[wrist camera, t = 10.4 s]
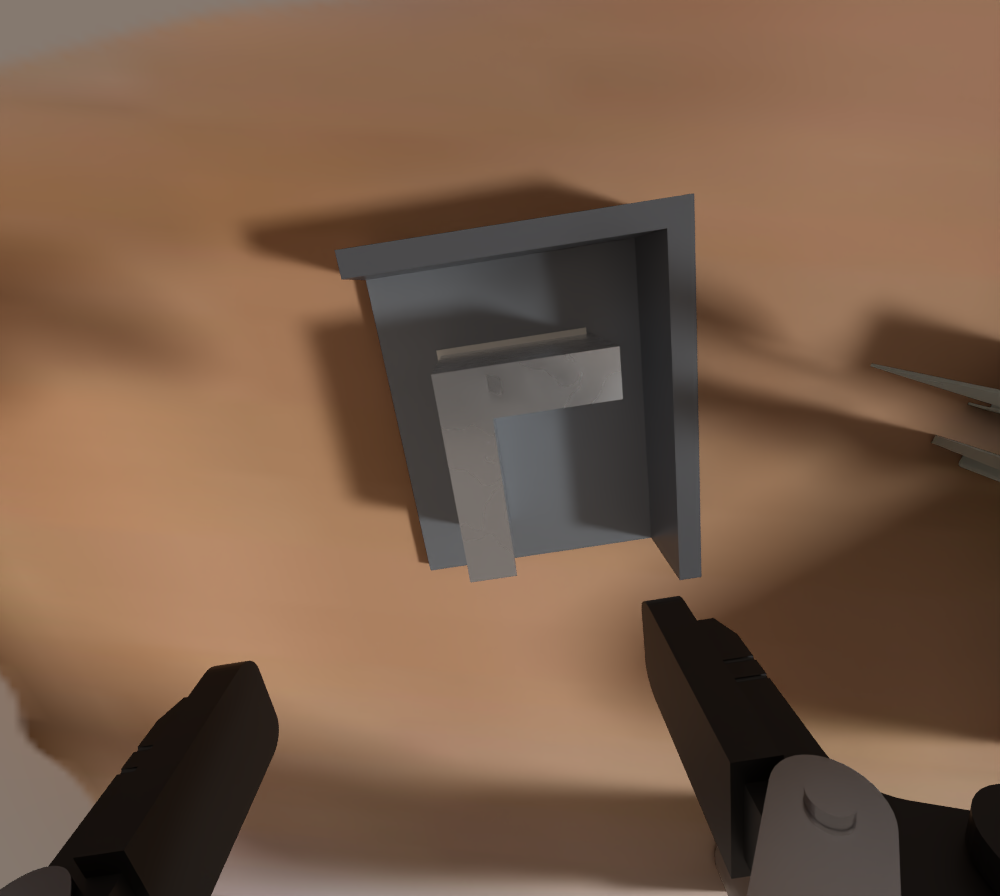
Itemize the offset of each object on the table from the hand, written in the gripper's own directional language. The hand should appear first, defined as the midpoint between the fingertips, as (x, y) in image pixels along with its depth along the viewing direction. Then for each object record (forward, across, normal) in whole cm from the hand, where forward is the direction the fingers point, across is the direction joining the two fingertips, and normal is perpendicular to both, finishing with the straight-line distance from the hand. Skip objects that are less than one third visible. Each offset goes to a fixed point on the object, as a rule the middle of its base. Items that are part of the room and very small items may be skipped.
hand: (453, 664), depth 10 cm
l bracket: (+15, -3, 0) cm, 15 cm away
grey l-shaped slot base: (+16, -3, -1) cm, 16 cm away
